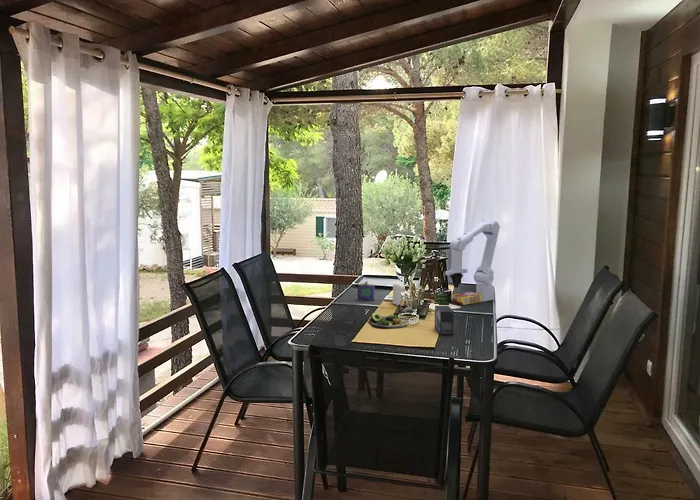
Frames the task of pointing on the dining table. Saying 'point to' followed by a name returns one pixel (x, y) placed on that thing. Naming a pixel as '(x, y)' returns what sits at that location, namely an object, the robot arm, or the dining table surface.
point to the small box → (444, 320)
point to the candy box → (466, 298)
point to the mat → (432, 305)
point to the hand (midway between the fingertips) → (455, 287)
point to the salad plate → (387, 321)
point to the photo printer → (397, 292)
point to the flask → (366, 292)
